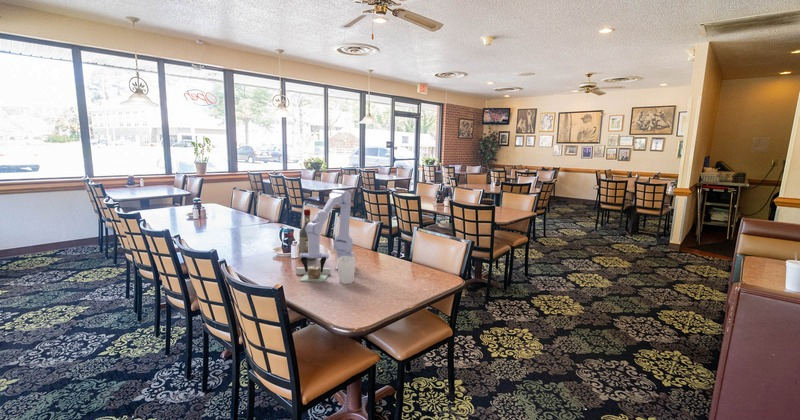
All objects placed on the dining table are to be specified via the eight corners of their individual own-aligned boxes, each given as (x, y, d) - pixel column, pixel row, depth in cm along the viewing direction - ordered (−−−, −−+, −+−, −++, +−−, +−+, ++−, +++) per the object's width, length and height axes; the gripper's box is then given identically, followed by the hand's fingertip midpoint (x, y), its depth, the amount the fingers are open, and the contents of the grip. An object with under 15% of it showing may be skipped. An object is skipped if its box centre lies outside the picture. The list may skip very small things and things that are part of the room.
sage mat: (327, 276, 198) (327, 274, 198) (324, 281, 189) (324, 280, 189) (304, 275, 198) (304, 274, 198) (300, 281, 189) (300, 280, 189)
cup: (358, 280, 193) (358, 257, 191) (350, 285, 184) (350, 262, 182) (342, 277, 195) (342, 255, 194) (334, 283, 187) (333, 260, 185)
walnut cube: (320, 275, 196) (320, 265, 195) (318, 279, 191) (317, 268, 190) (310, 275, 196) (310, 265, 195) (308, 278, 191) (308, 268, 190)
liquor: (299, 257, 231) (298, 208, 227) (314, 256, 234) (314, 208, 229) (300, 261, 223) (299, 211, 218) (316, 260, 225) (315, 210, 221)
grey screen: (330, 274, 200) (330, 268, 200) (330, 275, 199) (330, 268, 199) (296, 273, 200) (296, 267, 200) (296, 274, 199) (295, 268, 199)
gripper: (297, 247, 187) (297, 273, 189) (326, 248, 187) (326, 274, 189) (301, 244, 194) (301, 269, 196) (329, 244, 194) (329, 270, 196)
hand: (314, 271), depth 193 cm, fingers open, 7 cm apart
